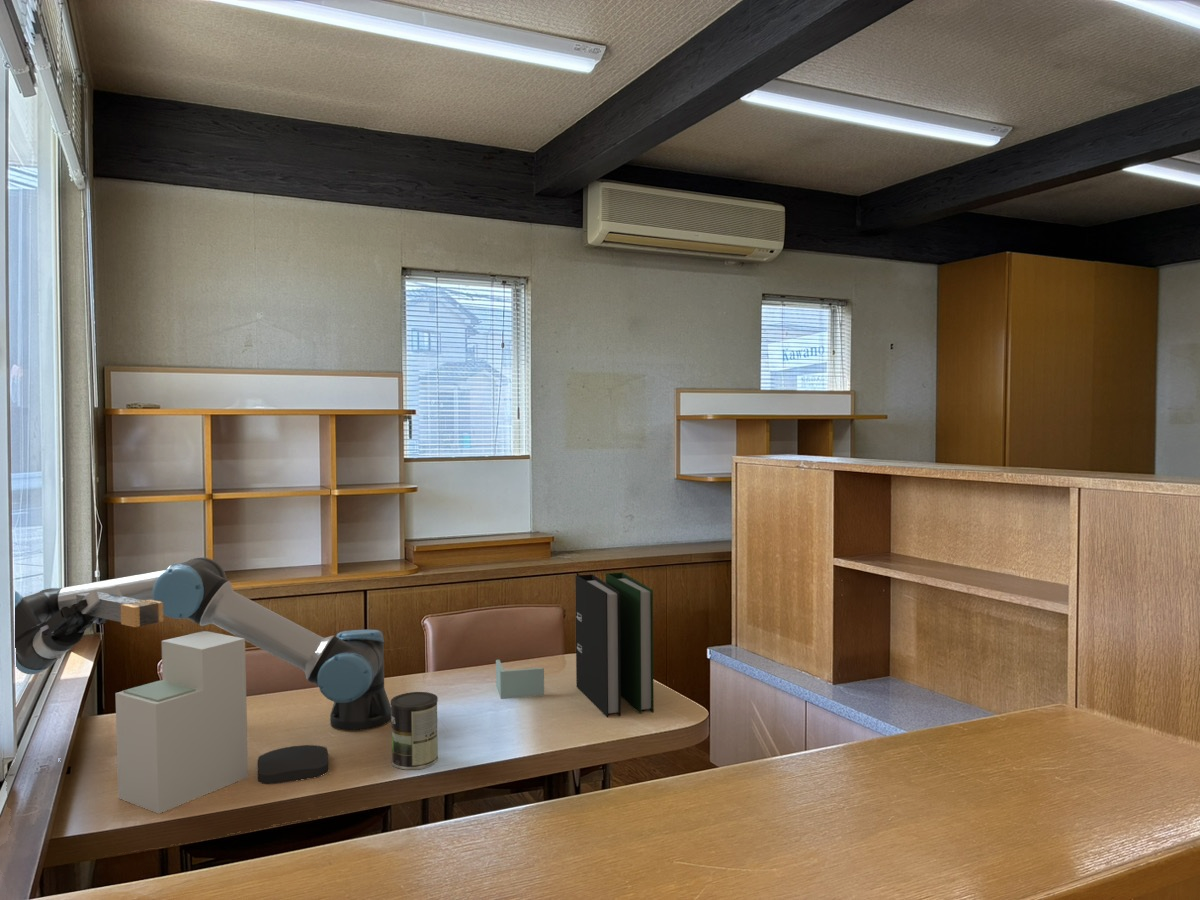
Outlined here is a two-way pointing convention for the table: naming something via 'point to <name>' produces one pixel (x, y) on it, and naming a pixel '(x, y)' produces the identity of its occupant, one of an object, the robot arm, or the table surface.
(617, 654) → the dark upright rectangular slabs
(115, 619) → the grey rectangular bar
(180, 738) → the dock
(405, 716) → the coffee can
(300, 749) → the media streaming box
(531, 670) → the right angle wall
